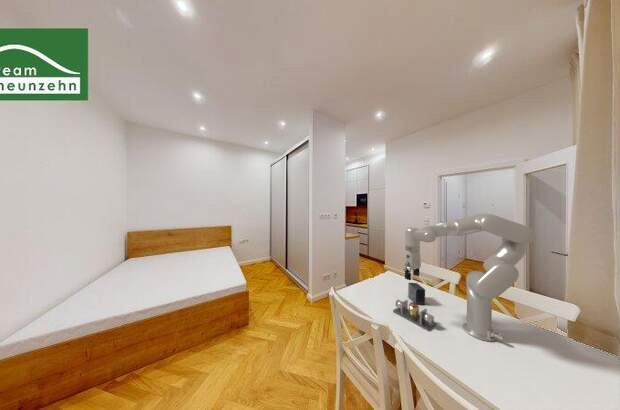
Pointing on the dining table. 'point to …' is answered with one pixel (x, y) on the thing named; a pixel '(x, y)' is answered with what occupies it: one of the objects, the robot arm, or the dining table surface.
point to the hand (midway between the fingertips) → (412, 277)
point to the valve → (413, 310)
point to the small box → (416, 293)
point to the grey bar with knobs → (423, 320)
